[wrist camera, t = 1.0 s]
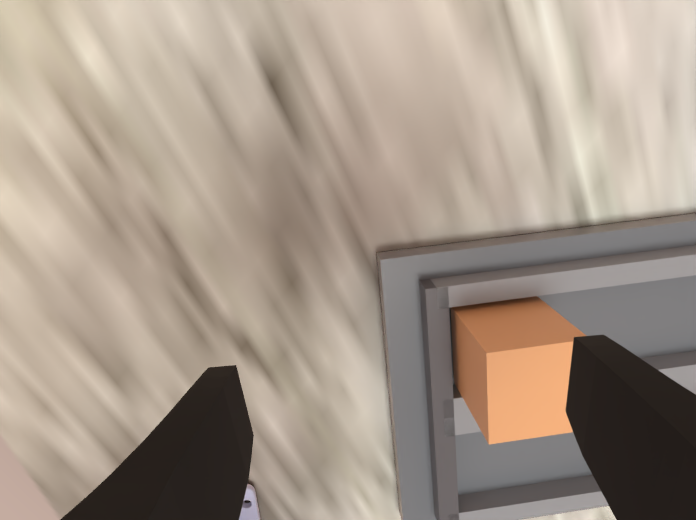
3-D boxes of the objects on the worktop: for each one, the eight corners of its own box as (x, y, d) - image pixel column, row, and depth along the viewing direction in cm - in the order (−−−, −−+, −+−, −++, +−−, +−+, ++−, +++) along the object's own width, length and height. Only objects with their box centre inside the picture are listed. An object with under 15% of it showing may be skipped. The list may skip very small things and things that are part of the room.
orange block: (534, 371, 25) (587, 430, 21) (453, 382, 25) (488, 444, 20) (534, 294, 24) (590, 338, 19) (450, 305, 24) (486, 353, 19)
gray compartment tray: (725, 461, 30) (760, 491, 28) (399, 511, 29) (408, 546, 26) (759, 205, 25) (805, 214, 23) (376, 252, 24) (384, 268, 22)
